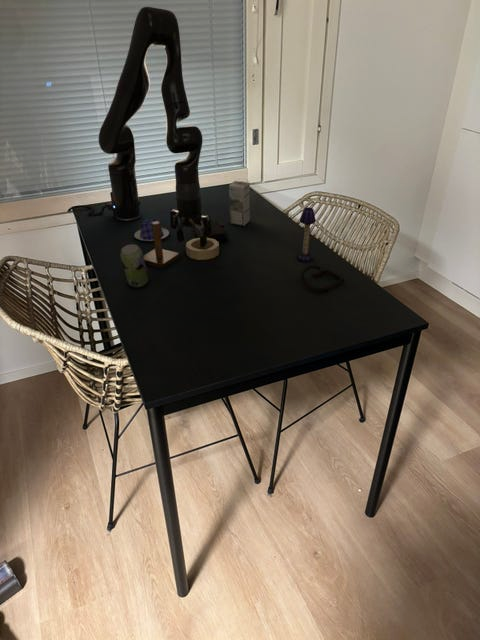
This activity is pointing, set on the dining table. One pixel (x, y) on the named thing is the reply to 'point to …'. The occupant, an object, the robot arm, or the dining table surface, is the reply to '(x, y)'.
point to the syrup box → (239, 202)
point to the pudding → (149, 231)
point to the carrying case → (215, 231)
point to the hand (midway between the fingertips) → (192, 243)
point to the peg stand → (159, 251)
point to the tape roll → (202, 253)
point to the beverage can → (134, 265)
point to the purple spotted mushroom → (306, 232)
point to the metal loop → (319, 275)
